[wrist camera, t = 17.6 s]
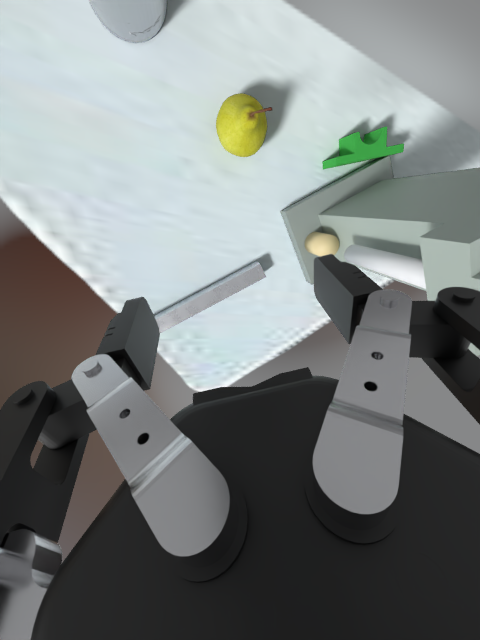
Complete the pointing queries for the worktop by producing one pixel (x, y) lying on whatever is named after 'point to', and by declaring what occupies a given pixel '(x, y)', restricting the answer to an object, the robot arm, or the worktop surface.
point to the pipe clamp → (363, 148)
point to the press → (395, 227)
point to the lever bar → (209, 296)
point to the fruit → (241, 125)
